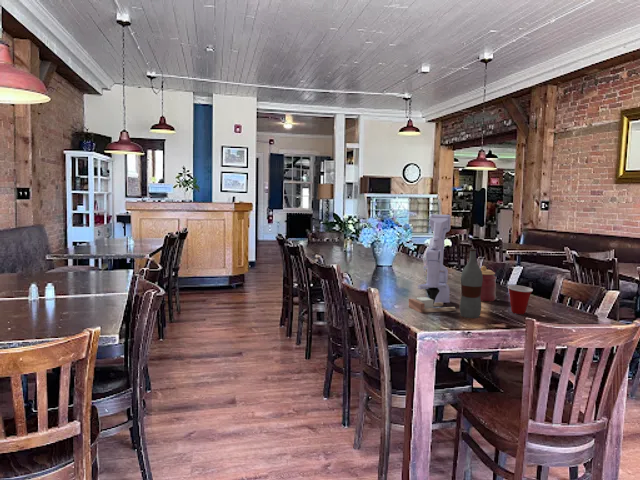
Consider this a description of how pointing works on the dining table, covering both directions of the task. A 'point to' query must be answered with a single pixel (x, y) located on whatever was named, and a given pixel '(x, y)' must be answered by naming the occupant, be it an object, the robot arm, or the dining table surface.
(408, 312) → the dining table surface
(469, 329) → the dining table surface
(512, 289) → the plastic cup
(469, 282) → the bottle
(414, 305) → the keeper channel
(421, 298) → the keeper block
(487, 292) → the canister
